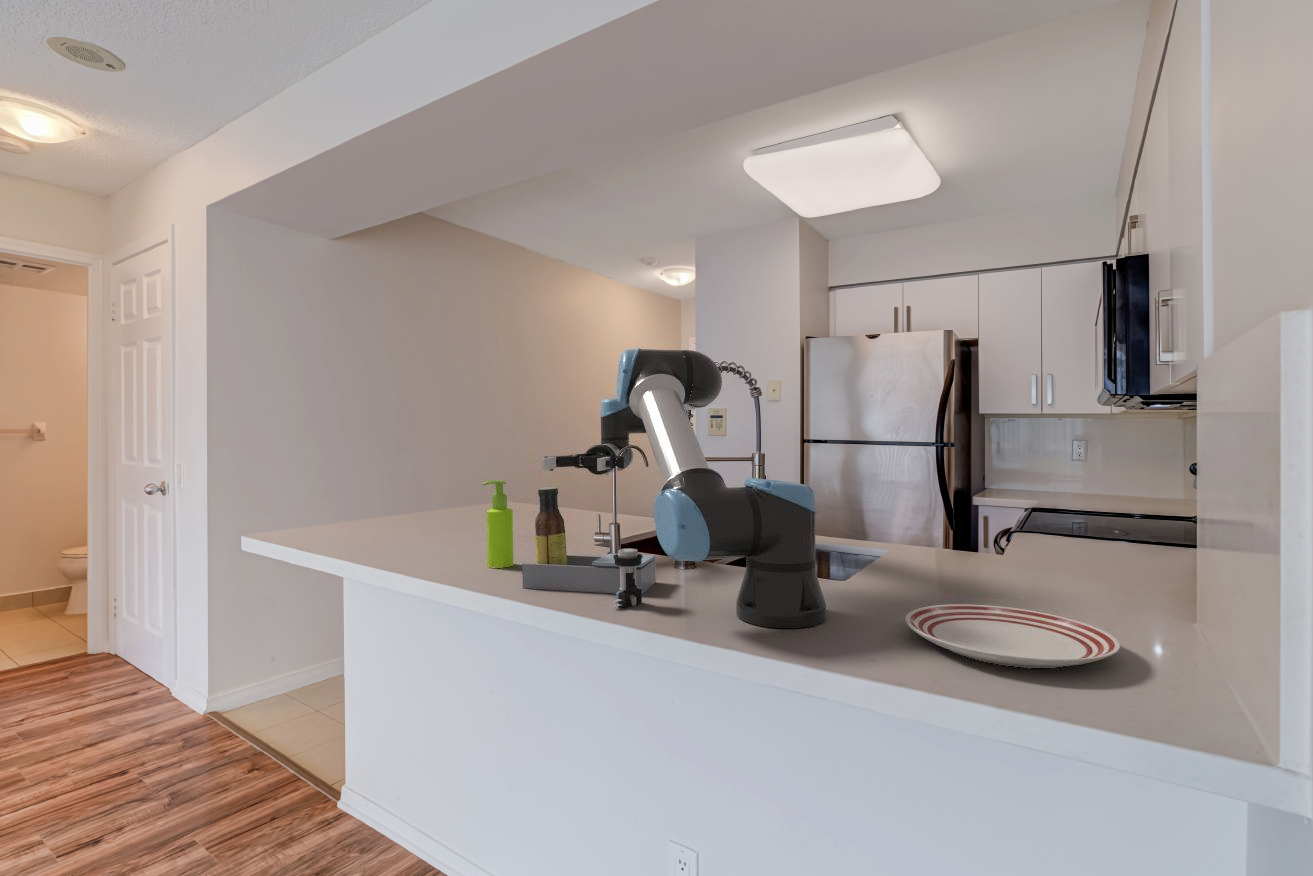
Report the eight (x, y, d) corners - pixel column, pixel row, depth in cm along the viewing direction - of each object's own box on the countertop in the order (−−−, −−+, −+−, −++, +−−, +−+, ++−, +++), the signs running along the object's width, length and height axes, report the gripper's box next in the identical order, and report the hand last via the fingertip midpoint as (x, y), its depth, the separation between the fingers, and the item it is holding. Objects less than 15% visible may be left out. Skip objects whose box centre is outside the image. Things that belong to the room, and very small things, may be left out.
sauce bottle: (570, 579, 140) (569, 486, 140) (563, 586, 134) (562, 489, 134) (540, 579, 141) (539, 486, 141) (532, 586, 135) (530, 489, 134)
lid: (655, 558, 137) (655, 555, 137) (640, 567, 127) (640, 564, 127) (609, 556, 140) (609, 553, 140) (592, 565, 129) (592, 561, 129)
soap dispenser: (481, 565, 156) (479, 480, 155) (510, 562, 159) (509, 479, 158) (485, 570, 150) (484, 482, 150) (515, 567, 153) (514, 480, 153)
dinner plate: (936, 610, 116) (936, 591, 116) (1127, 642, 99) (1127, 619, 98) (878, 654, 95) (878, 631, 94) (1109, 703, 77) (1109, 675, 77)
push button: (624, 612, 116) (624, 555, 115) (602, 607, 119) (602, 552, 119) (649, 604, 121) (648, 549, 121) (627, 599, 124) (626, 546, 124)
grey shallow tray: (655, 582, 137) (655, 558, 137) (641, 595, 127) (641, 569, 127) (544, 576, 144) (544, 553, 144) (522, 588, 134) (522, 563, 133)
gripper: (649, 474, 165) (623, 482, 144) (557, 473, 171) (520, 480, 151) (649, 444, 165) (623, 447, 144) (557, 444, 171) (519, 447, 151)
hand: (570, 464), depth 148 cm, fingers open, 13 cm apart
